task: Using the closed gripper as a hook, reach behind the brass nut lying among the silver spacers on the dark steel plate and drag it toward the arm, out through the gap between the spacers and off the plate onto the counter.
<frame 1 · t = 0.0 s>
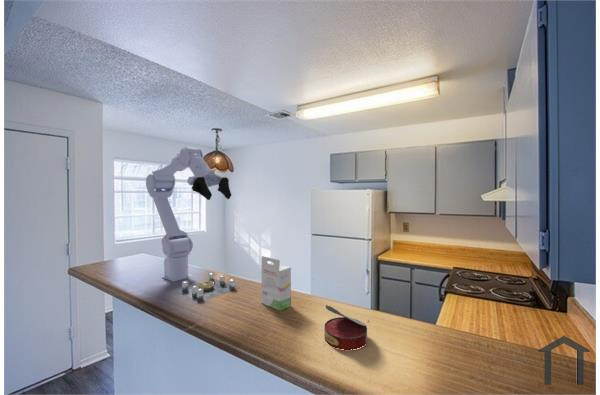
hand: (220, 197, 93), 32 cm above the countertop, tool tilted 50°, fingers open, 7 cm apart
brass nut: (206, 288, 98), resting on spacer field
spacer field: (208, 290, 98), on the countertop
ink box: (276, 305, 86), on the countertop
canned food: (345, 340, 67), on the countertop
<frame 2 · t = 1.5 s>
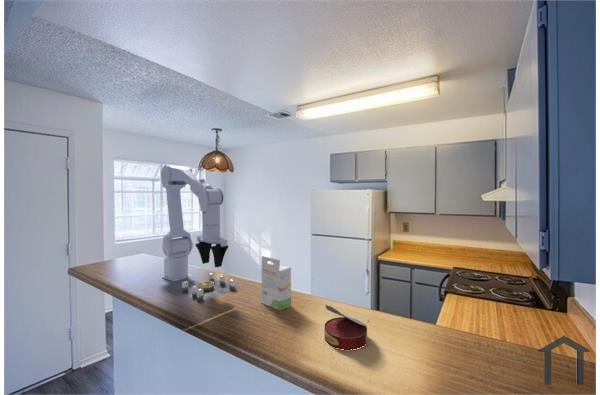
hand: (211, 264, 96), 9 cm above the countertop, tool pointing down, fingers open, 7 cm apart
nothing on the countertop moved.
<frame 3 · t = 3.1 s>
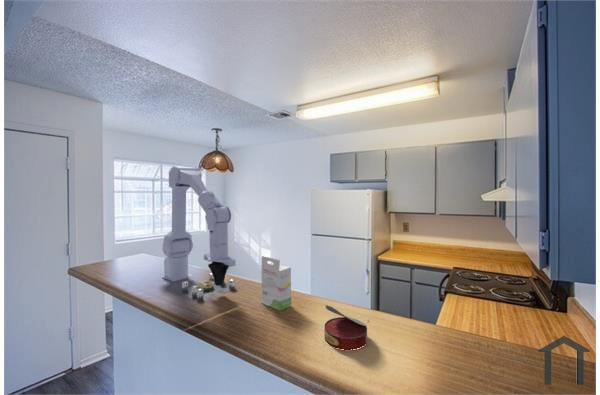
hand: (219, 284, 94), 4 cm above the countertop, tool pointing down, fingers closed
nothing on the countertop moved.
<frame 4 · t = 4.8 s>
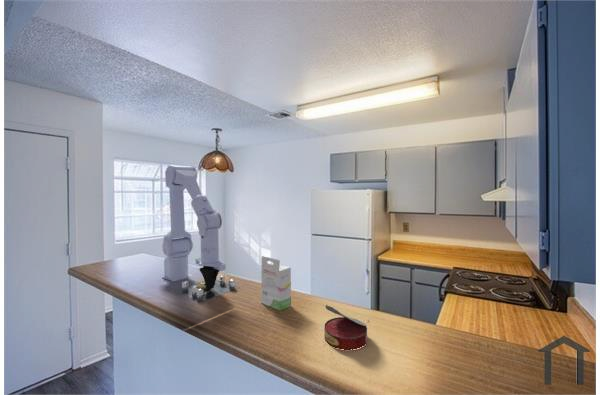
hand: (210, 287, 97), 1 cm above the countertop, tool pointing down, fingers closed
brass nut: (204, 287, 99), resting on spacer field, touching gripper
everything else where it was.
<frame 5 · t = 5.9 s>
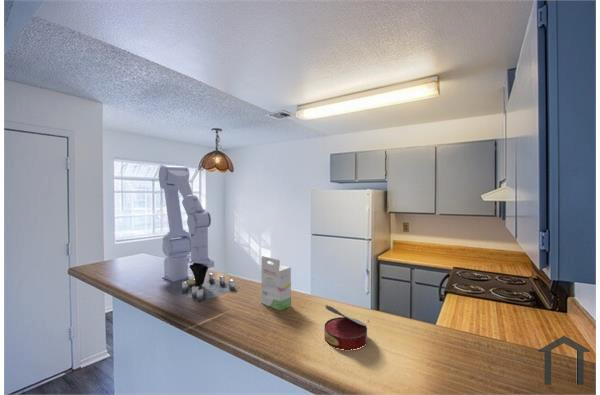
hand: (199, 284, 101), 1 cm above the countertop, tool pointing down, fingers closed
brass nut: (195, 284, 103), on the countertop, tilted 11°, touching gripper
everything else where it was.
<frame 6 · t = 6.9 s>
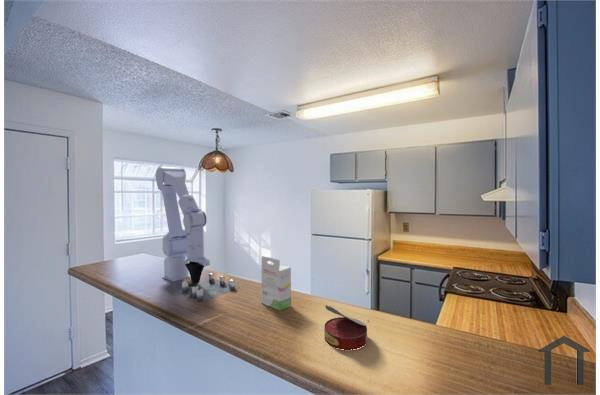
hand: (195, 282, 102), 1 cm above the countertop, tool pointing down, fingers closed
brass nut: (191, 283, 104), on the countertop, tilted 8°, touching gripper
everything else where it was.
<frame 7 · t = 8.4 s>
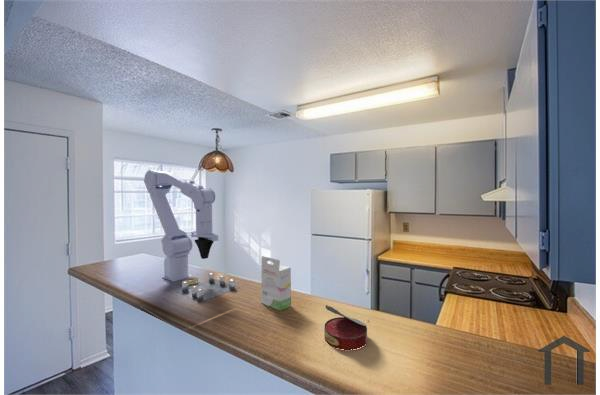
hand: (204, 258, 105), 9 cm above the countertop, tool pointing down, fingers closed
brass nut: (191, 284, 104), on the countertop
everything else where it was.
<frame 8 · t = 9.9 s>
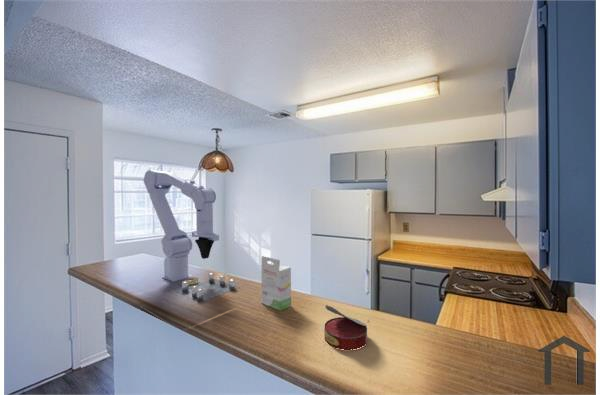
hand: (205, 258, 105), 9 cm above the countertop, tool pointing down, fingers closed
nothing on the countertop moved.
at the end: brass nut inside the target area (2.1 cm from its centre), on the countertop; brass nut touching countertop; brass nut tilted 0° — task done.
